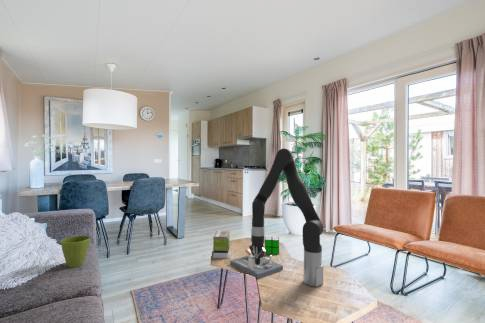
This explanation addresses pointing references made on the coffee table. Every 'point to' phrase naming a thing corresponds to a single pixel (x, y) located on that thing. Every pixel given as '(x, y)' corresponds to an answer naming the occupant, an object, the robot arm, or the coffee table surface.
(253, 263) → the slider knob
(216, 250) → the tea box
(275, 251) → the puzzle cube
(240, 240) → the coffee table surface
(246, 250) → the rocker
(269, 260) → the toggle lever
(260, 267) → the control board
